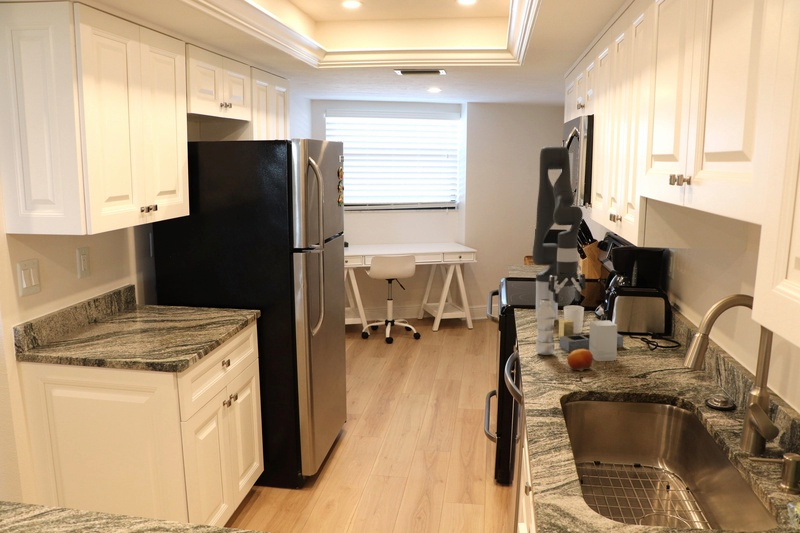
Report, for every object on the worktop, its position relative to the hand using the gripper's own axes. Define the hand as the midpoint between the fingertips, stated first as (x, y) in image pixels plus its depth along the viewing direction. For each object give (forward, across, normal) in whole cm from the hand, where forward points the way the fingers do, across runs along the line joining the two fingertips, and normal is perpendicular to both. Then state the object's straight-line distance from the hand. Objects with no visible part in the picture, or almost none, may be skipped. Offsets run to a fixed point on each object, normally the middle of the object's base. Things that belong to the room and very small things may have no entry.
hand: (566, 301), depth 242 cm
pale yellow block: (+15, 0, 0) cm, 16 cm away
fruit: (+16, +11, +31) cm, 36 cm away
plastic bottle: (+16, +15, +13) cm, 25 cm away
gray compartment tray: (+15, -5, +10) cm, 19 cm away
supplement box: (+16, -2, +23) cm, 28 cm away
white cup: (+16, -9, -11) cm, 21 cm away
